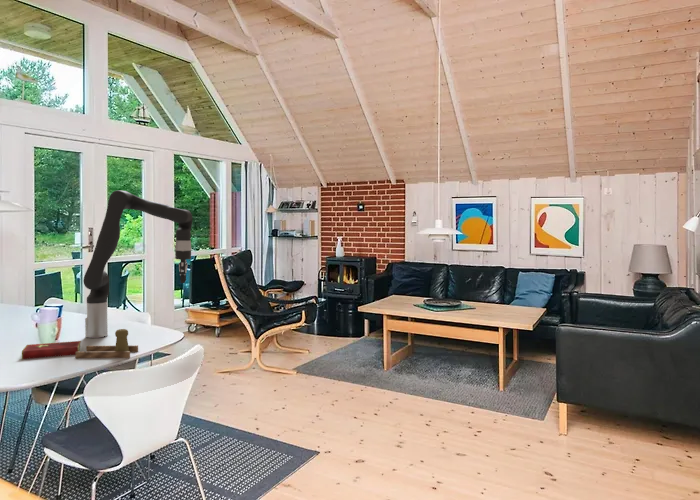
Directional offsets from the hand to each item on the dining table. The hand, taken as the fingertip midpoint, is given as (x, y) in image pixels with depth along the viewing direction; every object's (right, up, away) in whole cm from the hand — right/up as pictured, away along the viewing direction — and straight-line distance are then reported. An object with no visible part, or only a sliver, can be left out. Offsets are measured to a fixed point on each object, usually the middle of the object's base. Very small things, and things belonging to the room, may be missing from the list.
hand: (183, 281), depth 253 cm
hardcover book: (-46, -30, -32) cm, 64 cm away
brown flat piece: (-22, -30, -32) cm, 49 cm away
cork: (-16, -30, -32) cm, 47 cm away
